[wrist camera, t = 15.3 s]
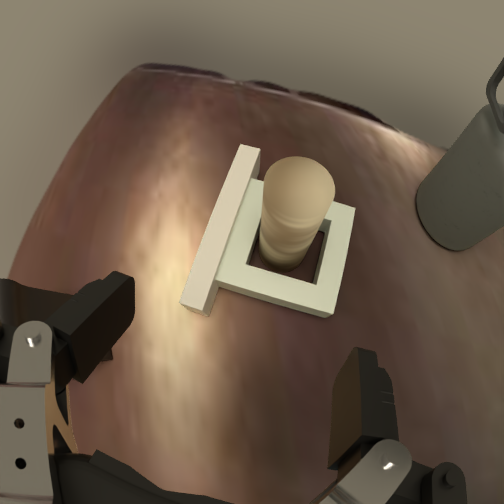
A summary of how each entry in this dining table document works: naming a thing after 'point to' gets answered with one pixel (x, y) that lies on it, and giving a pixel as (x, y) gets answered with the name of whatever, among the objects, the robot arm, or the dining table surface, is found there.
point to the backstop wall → (219, 232)
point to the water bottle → (468, 180)
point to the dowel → (292, 210)
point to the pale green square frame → (278, 286)
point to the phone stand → (29, 304)
